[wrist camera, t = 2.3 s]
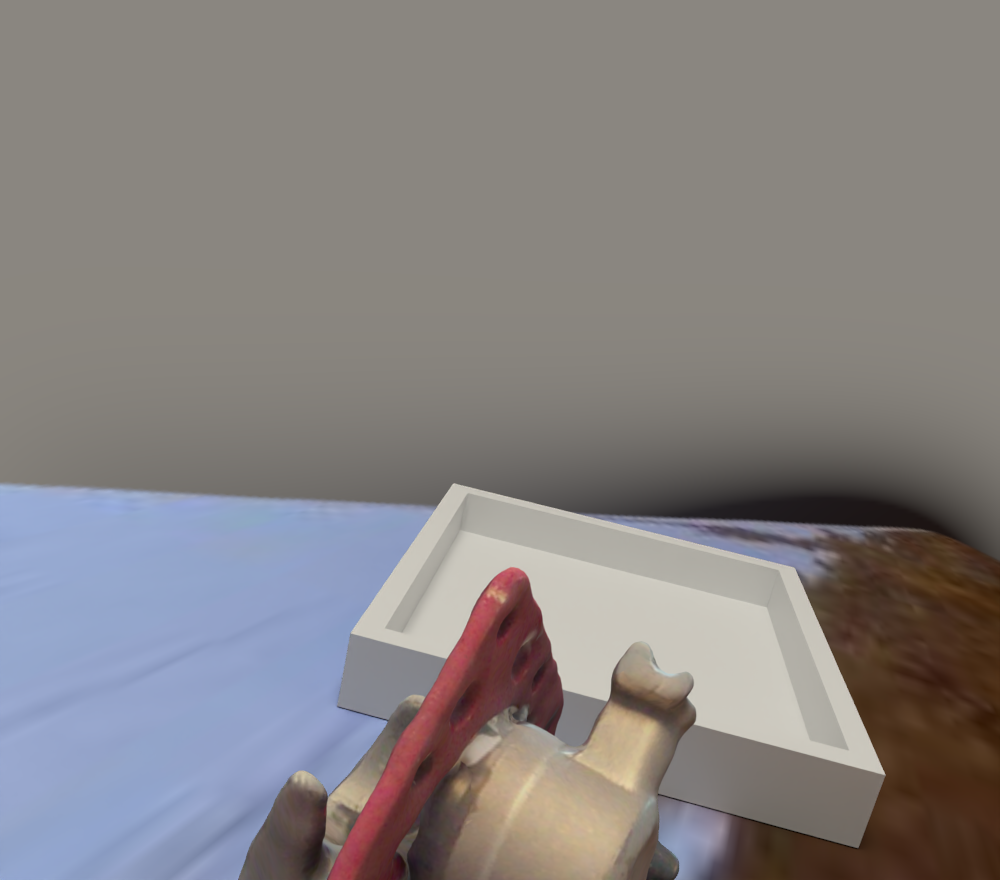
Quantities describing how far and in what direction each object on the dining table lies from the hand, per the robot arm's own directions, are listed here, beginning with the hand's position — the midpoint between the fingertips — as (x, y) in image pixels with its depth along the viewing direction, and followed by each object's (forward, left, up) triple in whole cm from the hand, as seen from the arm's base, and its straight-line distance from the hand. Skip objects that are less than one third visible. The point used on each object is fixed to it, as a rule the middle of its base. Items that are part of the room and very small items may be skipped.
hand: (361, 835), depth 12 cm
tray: (-5, -29, -11) cm, 31 cm away
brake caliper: (-1, -9, -11) cm, 15 cm away
